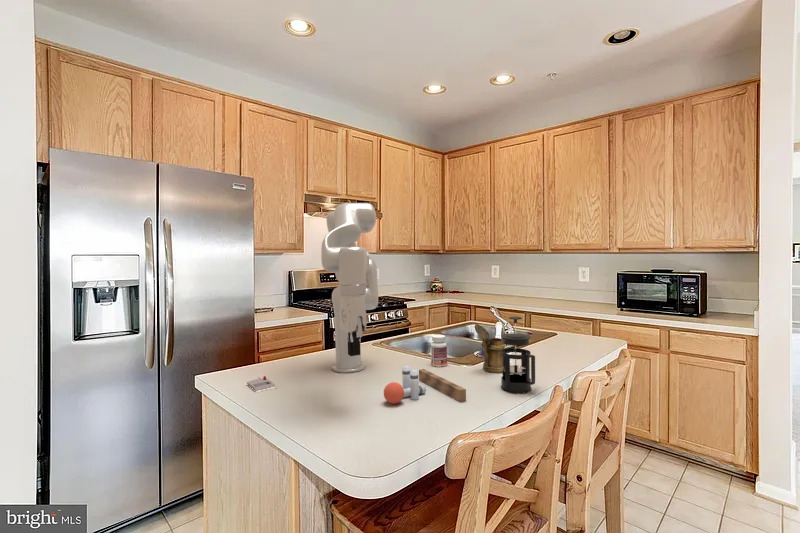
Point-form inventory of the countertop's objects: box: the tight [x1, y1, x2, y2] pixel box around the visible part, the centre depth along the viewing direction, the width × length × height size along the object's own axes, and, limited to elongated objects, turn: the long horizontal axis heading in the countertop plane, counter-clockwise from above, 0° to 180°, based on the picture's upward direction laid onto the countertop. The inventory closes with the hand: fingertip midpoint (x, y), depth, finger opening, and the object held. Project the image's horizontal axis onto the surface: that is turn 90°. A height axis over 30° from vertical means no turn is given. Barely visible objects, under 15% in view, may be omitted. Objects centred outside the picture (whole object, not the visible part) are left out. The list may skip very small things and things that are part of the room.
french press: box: [500, 315, 536, 395], centre depth 128 cm, size 12×9×23 cm
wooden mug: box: [474, 323, 506, 374], centre depth 149 cm, size 9×14×18 cm, turn 121°
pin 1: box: [401, 364, 411, 389], centre depth 126 cm, size 2×2×8 cm
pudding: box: [473, 343, 484, 358], centre depth 171 cm, size 12×12×5 cm
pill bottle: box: [430, 334, 448, 368], centre depth 157 cm, size 6×6×11 cm
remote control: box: [246, 375, 276, 392], centre depth 137 cm, size 7×16×3 cm, turn 37°
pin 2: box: [410, 368, 420, 401], centre depth 122 cm, size 2×2×8 cm
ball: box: [383, 381, 405, 405], centre depth 119 cm, size 6×6×6 cm
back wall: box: [418, 368, 467, 403], centre depth 129 cm, size 24×2×4 cm, turn 27°
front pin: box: [403, 384, 427, 398], centre depth 125 cm, size 2×2×8 cm
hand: (354, 354), depth 115 cm, fingers closed
